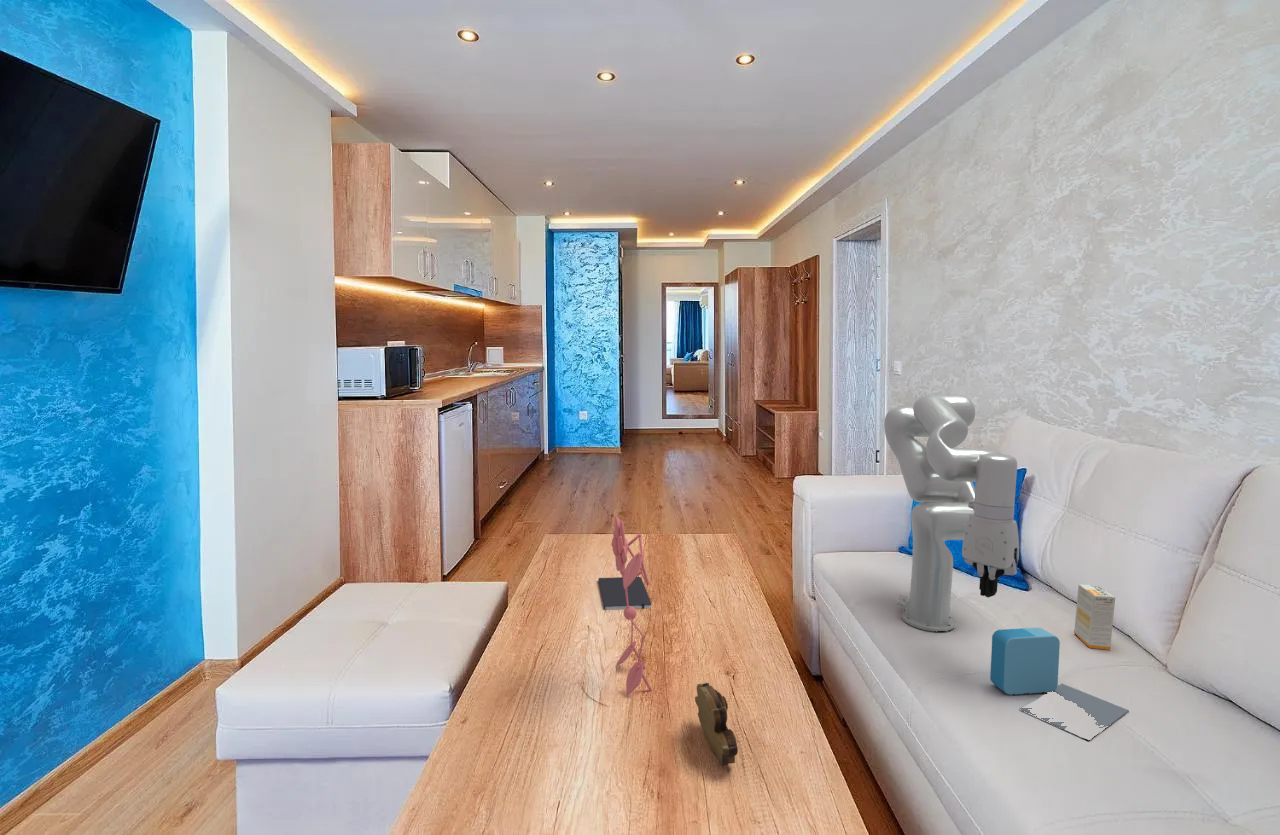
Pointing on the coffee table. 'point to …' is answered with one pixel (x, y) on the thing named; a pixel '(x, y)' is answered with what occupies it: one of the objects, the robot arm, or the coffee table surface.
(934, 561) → the robot arm
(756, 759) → the coffee table surface
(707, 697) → the wooden carving
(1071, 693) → the mat
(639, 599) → the notebook
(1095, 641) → the supplement box
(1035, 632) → the data package
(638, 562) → the pink leafy sprig
